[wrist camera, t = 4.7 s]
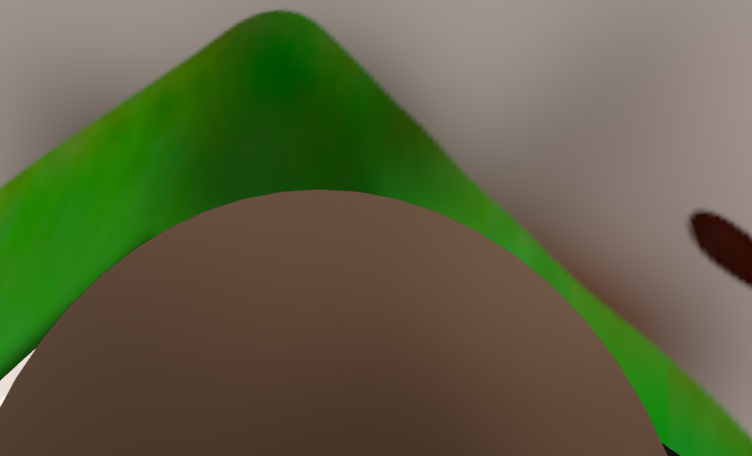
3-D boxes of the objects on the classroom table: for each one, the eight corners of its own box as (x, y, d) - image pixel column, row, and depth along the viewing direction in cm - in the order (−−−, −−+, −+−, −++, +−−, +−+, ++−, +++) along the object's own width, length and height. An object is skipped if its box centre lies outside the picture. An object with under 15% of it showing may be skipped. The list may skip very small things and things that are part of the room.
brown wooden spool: (471, 382, 15) (925, 934, 2) (339, 435, 15) (-39, 1356, 2) (416, 251, 16) (482, 102, 4) (296, 299, 16) (-77, 322, 3)
